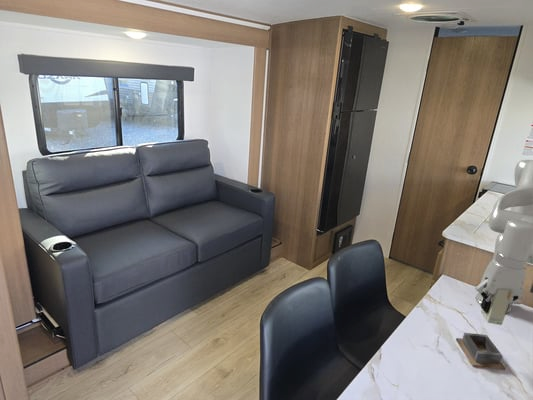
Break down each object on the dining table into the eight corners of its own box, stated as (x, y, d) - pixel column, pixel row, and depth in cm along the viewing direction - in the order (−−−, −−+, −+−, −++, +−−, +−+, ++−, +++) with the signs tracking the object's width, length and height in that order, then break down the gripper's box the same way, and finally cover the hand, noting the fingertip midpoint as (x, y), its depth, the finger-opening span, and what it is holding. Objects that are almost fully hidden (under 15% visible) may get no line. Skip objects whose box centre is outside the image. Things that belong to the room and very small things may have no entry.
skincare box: (502, 325, 109) (514, 292, 105) (487, 323, 109) (498, 289, 105) (494, 313, 115) (505, 281, 111) (479, 310, 115) (490, 278, 111)
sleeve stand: (484, 342, 122) (488, 332, 121) (504, 369, 111) (508, 359, 109) (455, 339, 122) (458, 329, 121) (472, 366, 111) (476, 355, 110)
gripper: (531, 256, 108) (513, 306, 114) (475, 251, 109) (460, 301, 115) (548, 269, 101) (527, 321, 107) (488, 263, 102) (471, 315, 108)
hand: (493, 310), depth 111 cm, fingers closed on skincare box, 4 cm apart
